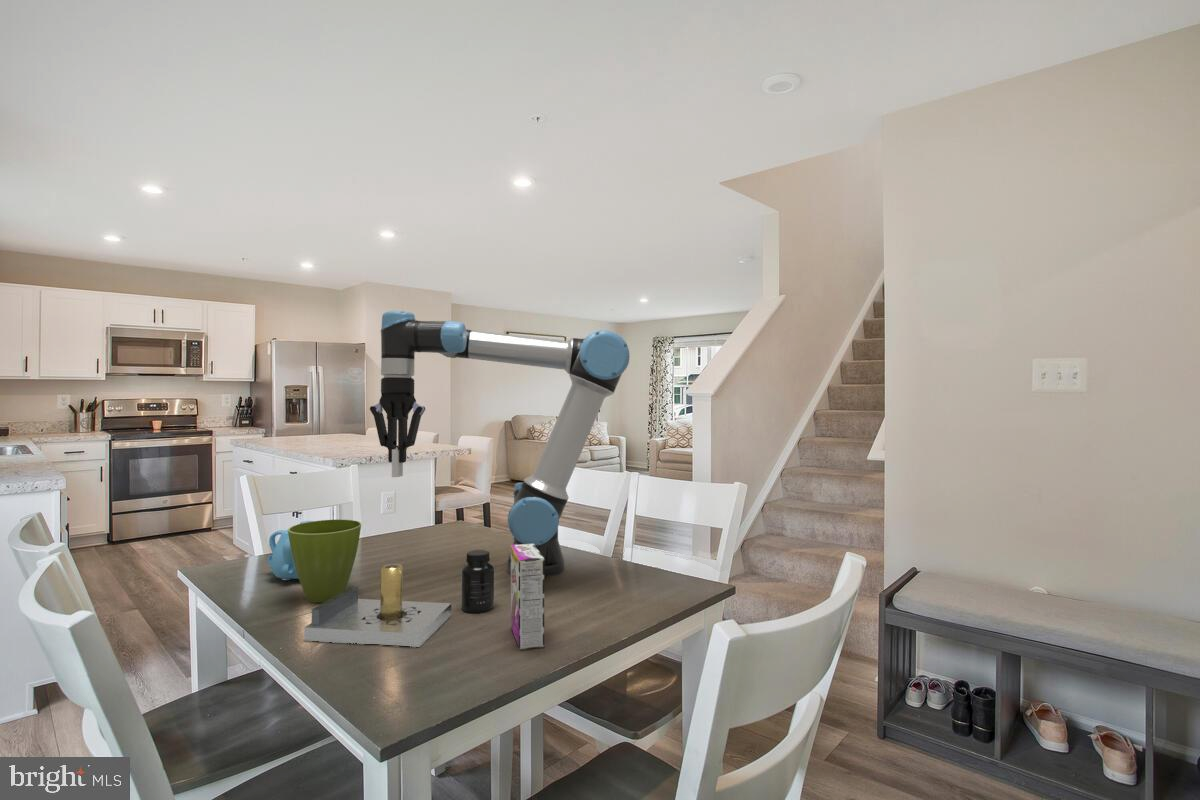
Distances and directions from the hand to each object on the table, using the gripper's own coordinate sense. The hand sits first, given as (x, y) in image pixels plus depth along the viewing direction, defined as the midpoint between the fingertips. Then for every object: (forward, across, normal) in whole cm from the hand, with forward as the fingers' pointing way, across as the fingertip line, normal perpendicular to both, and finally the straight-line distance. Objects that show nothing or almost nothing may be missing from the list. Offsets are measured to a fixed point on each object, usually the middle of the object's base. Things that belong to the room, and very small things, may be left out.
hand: (397, 476), depth 140 cm
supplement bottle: (+27, -23, +12) cm, 37 cm away
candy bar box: (+27, -37, +26) cm, 52 cm away
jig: (+26, -8, +24) cm, 37 cm away
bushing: (+26, -10, +24) cm, 37 cm away
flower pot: (+26, +13, +9) cm, 31 cm away
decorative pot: (+27, +26, -6) cm, 38 cm away
